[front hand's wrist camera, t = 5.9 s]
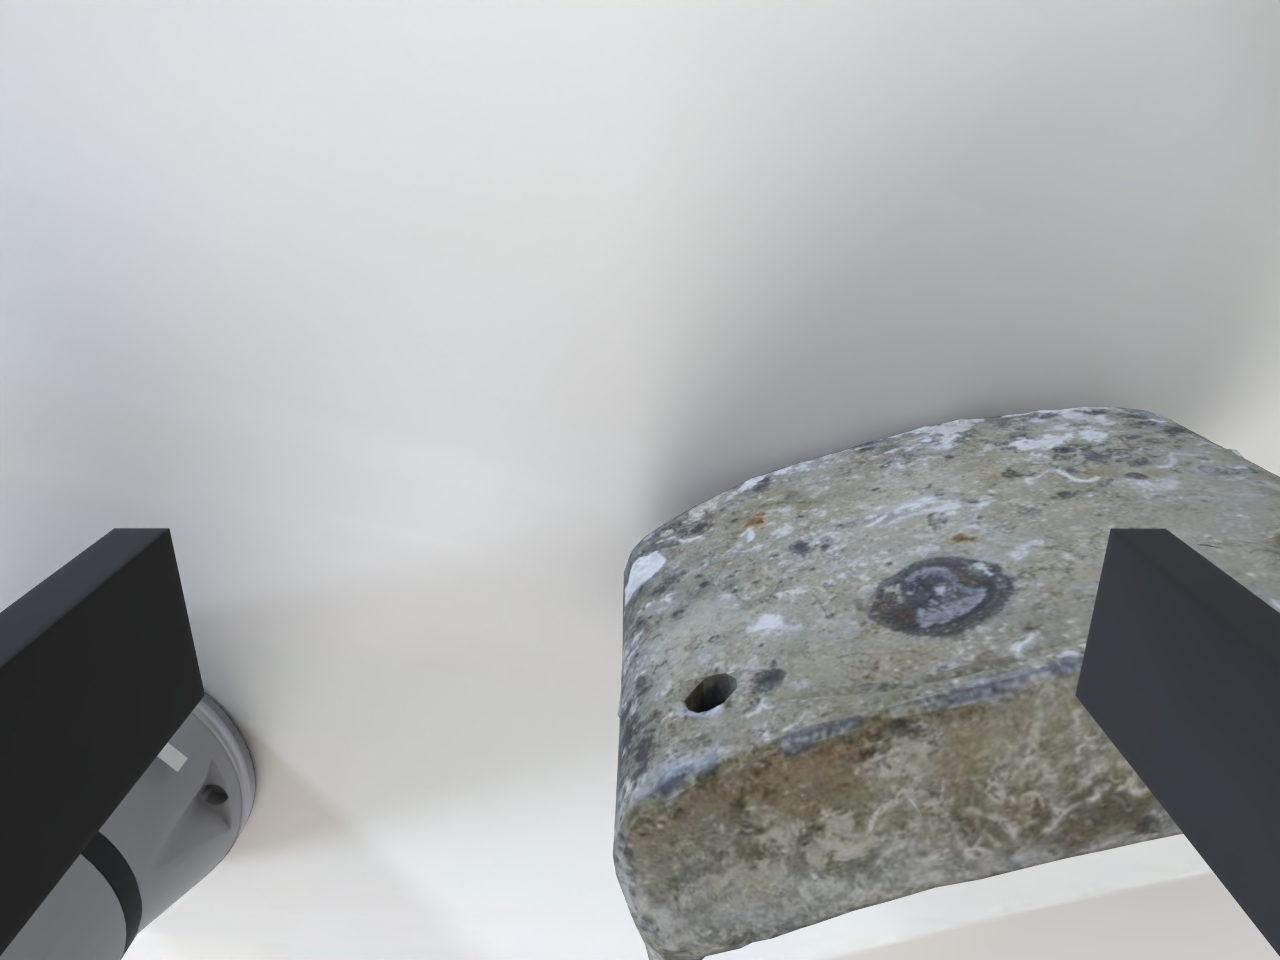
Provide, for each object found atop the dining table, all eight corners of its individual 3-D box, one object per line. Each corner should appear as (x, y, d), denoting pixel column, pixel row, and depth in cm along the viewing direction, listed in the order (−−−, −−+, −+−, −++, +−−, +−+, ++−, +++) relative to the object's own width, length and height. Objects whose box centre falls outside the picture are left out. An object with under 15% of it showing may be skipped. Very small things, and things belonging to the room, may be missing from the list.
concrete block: (1157, 361, 40) (1599, 550, 22) (1165, 530, 44) (1559, 823, 25) (599, 496, 43) (567, 771, 24) (644, 648, 46) (647, 995, 27)
